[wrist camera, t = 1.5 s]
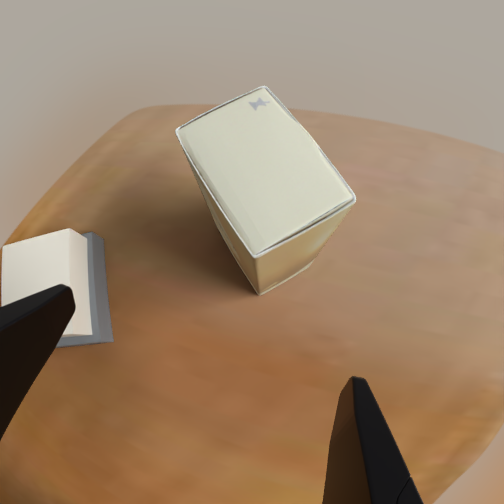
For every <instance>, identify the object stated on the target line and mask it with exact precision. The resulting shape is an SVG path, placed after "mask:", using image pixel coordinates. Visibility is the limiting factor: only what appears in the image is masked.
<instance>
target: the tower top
mask: <svg viewBox="0 0 504 504" xmlns="http://www.w3.org/2000/svg"><path fill="white" fill-rule="evenodd" d="M58 284H64V285H66V286H69V287H70V288H71V289H72V291H73V296H74V300H75V304H76V309H75V313H74V314H73V316H72V318H71V320H70V322H69V323H68V325H67V327H66V329H65V331H64V333H63V335H62V336H61V337H73V336H86V335H92V326H91V315H90V302H89V286H88V259H87V238H85V237H84V236H82V235H80V234H79V233H77V232H75V231H74V230H72V229H70V228H68V229H64V230H60V231H56V232H52V233H49V234H45V235H41V236H37V237H34V238H30V239H26V240H23V241H19V242H16V243H12V244H9V245H5V246H3V252H2V277H1V301H2V306H5V305H7V304H10V303H12V302H15V301H17V300H20V299H22V298H25V297H27V296H30V295H32V294H35V293H37V292H40V291H43V290H45V289H48V288H50V287H53V286H56V285H58Z"/></svg>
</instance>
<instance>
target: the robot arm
mask: <svg viewBox="0 0 504 504" xmlns="http://www.w3.org/2000/svg"><path fill="white" fill-rule="evenodd" d="M75 309H76V304H75V300H74V296H73V291H72V289H71V288H70V287H69V286H66V285H64V284H58V285H56V286H53V287H50V288H48V289H45V290H43V291H40V292H37V293H35V294H32V295H30V296H27V297H25V298H22V299H20V300H17V301H15V302H12V303H10V304H7V305H5V306H2V307H0V440H1V438H2V437H3V434H4V433H5V431H6V429H7V427H8V425H9V423H10V422H11V420H12V418H13V416H14V414H15V413H16V411H17V409H18V407H19V406H20V404H21V402H22V400H23V399H24V397H25V395H26V394H27V392H28V390H29V389H30V387H31V385H32V384H33V382H34V380H35V379H36V377H37V376H38V374H39V372H40V371H41V369H42V368H43V366H44V365H45V363H46V361H47V360H48V358H49V357H50V355H51V354H52V352H53V351H54V349H55V347H56V346H57V344H58V342H59V340H60V338H61V336H62V335H63V333H64V331H65V329H66V327H67V325H68V323H69V322H70V320H71V318H72V316H73V314H74V313H75ZM322 504H424V503H423V501H422V499H421V497H420V495H419V493H418V491H417V488H416V486H415V484H414V482H413V479H412V477H410V473H409V471H408V468H407V466H406V464H405V462H404V459H403V457H402V455H401V453H400V450H399V448H398V446H397V444H396V442H395V440H394V437H393V435H392V433H391V431H390V429H389V427H388V425H387V422H386V420H385V418H384V416H383V414H382V412H381V410H380V408H379V406H378V403H377V401H376V399H375V397H374V395H373V393H372V391H371V389H370V387H369V385H368V383H367V381H366V380H365V379H364V378H361V377H356V376H352V377H351V378H350V379H349V380H348V382H347V384H346V385H345V387H344V388H343V390H342V391H341V393H340V396H339V401H338V406H337V411H336V416H335V421H334V425H333V430H332V435H331V440H330V445H329V454H328V463H327V472H326V480H325V488H324V495H323V502H322Z"/></svg>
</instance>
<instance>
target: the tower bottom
mask: <svg viewBox="0 0 504 504" xmlns="http://www.w3.org/2000/svg"><path fill="white" fill-rule="evenodd" d="M81 235H82V236H84V237H85V238H87V259H88V286H89V302H90V315H91V326H92V335H86V336H73V337H61V338H60V340H59V342H58V344H57V346H56V347H55V348H61V347H71V346H81V345H91V344H100V343H108V342H114V340H113V333H112V326H111V318H110V310H109V301H108V291H107V280H106V267H105V252H104V239H103V238H101V237H100V236H98V235H96V234H95V233H93V232H88V233H85V234H81Z"/></svg>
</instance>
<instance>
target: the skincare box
mask: <svg viewBox="0 0 504 504" xmlns="http://www.w3.org/2000/svg"><path fill="white" fill-rule="evenodd" d="M175 133H176V136H177V138H178V140H179V142H180V144H181V146H182V148H183V151H184V153H185V155H186V157H187V160H188V162H189V164H190V166H191V169H192V171H193V173H194V176H195V178H196V180H197V182H198V185H199V187H200V189H201V192H202V194H203V196H204V198H205V201H206V203H207V205H208V207H209V210H210V212H211V214H212V217H213V219H214V221H215V224H216V226H217V228H218V230H219V231H220V233H221V235H222V237H223V239H224V241H225V242H226V244H227V246H228V248H229V250H230V251H231V253H232V255H233V256H234V258H235V260H236V262H237V263H238V265H239V266H240V268H241V269H242V271H243V273H244V274H245V276H246V277H247V279H248V280H249V282H250V283H251V285H252V286H253V288H254V289H255V291H256V293H257V294H258V295H259V296H261V295H263V294H264V293H266V292H268V291H270V290H272V289H274V288H275V287H277V286H279V285H280V284H282V283H284V282H286V281H287V280H289V279H291V278H292V277H294V276H296V275H297V274H299V273H300V272H302V271H304V270H305V269H307V268H308V267H309V266H310V265H311V263H312V262H313V261H314V259H315V258H316V257H317V255H318V254H319V252H320V251H321V250H322V248H323V247H324V246H325V244H326V243H327V241H328V240H329V238H330V237H331V236H332V234H333V233H334V231H335V230H336V229H337V227H338V226H339V225H340V223H341V222H342V220H343V219H344V217H345V216H346V215H347V213H348V212H349V210H350V209H351V207H352V206H353V205H354V203H355V202H356V196H355V194H354V192H353V191H352V190H351V188H350V187H349V186H348V184H347V183H346V182H345V180H344V179H343V177H342V176H341V175H340V173H339V172H338V171H337V169H336V168H335V167H334V166H333V164H332V163H331V162H330V160H329V159H328V158H327V157H326V155H325V154H324V153H323V151H322V150H321V149H320V147H319V146H318V145H317V143H316V142H315V141H314V139H313V138H312V137H311V136H310V134H309V133H308V132H307V131H306V130H305V129H304V128H303V127H302V126H301V124H300V123H299V122H298V121H297V120H296V119H295V118H294V116H293V115H292V114H291V113H290V112H289V111H288V109H287V108H286V107H284V105H283V104H282V103H281V102H280V100H279V99H278V98H277V97H276V96H275V95H274V94H273V93H272V92H271V91H270V89H269V88H267V87H266V86H261V87H259V88H256V89H254V90H252V91H250V92H248V93H245V94H243V95H241V96H238V97H236V98H234V99H232V100H230V101H227V102H225V103H223V104H221V105H219V106H217V107H215V108H213V109H211V110H209V111H207V112H205V113H203V114H201V115H199V116H197V117H195V118H194V119H192V120H191V121H189V122H187V123H185V124H184V125H182V126H180V127H178V128H177V129H176V131H175Z"/></svg>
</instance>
